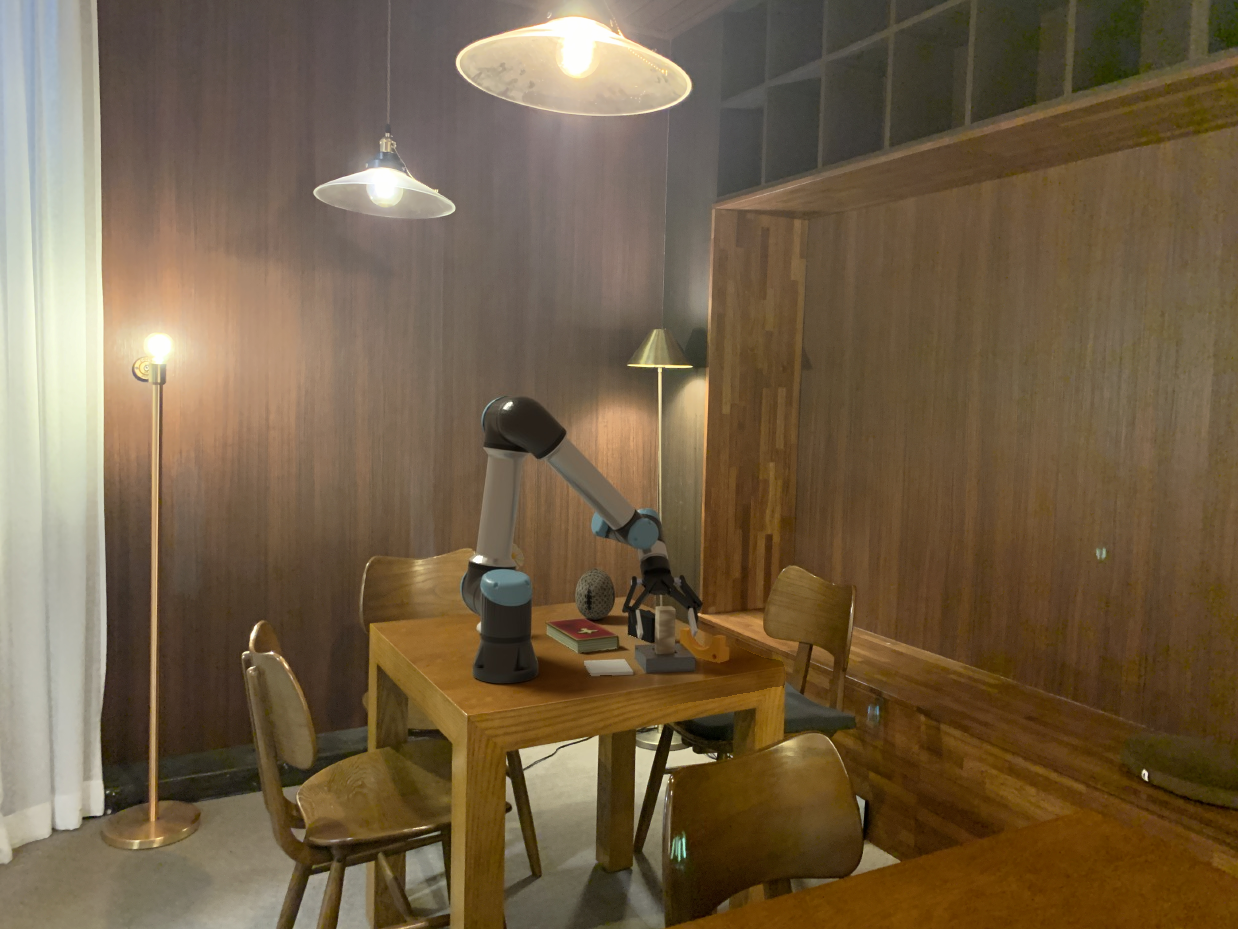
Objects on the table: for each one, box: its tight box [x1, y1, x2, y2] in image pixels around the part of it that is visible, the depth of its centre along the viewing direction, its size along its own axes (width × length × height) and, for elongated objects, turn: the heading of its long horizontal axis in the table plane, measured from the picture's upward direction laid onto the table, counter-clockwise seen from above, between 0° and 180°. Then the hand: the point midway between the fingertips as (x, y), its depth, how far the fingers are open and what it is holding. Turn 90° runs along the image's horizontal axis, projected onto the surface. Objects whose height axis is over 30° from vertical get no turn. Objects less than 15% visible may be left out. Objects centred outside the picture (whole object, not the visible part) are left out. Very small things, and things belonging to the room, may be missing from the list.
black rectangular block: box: [627, 608, 655, 644], centre depth 243 cm, size 10×5×7 cm, turn 37°
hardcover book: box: [545, 617, 620, 654], centre depth 238 cm, size 12×21×4 cm, turn 27°
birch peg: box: [654, 605, 677, 654], centre depth 217 cm, size 4×4×14 cm
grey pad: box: [583, 658, 634, 677], centre depth 213 cm, size 10×10×1 cm
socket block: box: [634, 642, 696, 674], centre depth 218 cm, size 12×12×4 cm
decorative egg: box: [574, 568, 616, 621], centre depth 262 cm, size 12×12×15 cm
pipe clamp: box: [679, 627, 730, 664], centre depth 226 cm, size 12×4×6 cm, turn 50°
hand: (668, 635), depth 217 cm, fingers open, 13 cm apart
